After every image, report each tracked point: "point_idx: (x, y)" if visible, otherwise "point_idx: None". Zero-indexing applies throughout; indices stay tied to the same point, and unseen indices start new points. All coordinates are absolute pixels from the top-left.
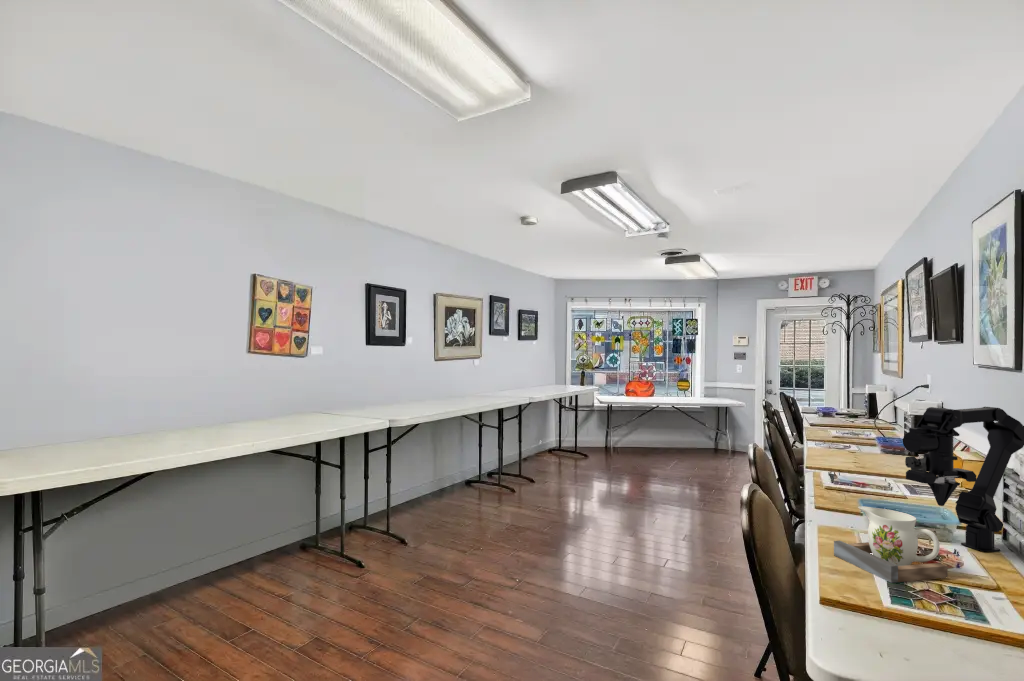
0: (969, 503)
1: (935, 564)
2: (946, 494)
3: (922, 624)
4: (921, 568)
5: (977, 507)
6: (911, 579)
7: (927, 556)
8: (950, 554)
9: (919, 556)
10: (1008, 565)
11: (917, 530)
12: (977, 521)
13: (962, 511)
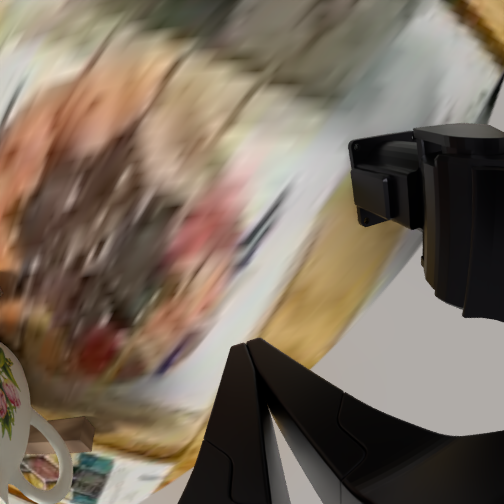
0: (494, 257)
1: (66, 445)
2: (310, 476)
3: (25, 498)
4: (34, 453)
5: (472, 312)
6: None
7: (50, 443)
8: (217, 261)
9: (36, 426)
10: (335, 329)
11: (16, 486)
12: (424, 265)
13: (440, 209)
